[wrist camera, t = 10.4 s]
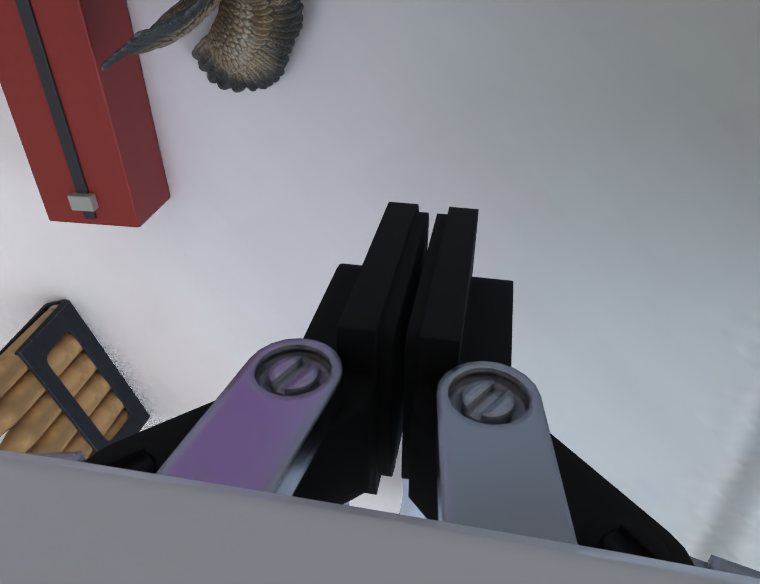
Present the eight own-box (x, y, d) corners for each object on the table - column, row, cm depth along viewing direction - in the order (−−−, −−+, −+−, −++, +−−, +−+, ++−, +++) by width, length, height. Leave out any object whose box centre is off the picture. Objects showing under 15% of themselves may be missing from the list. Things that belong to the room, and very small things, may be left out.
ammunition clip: (45, 303, 39) (-106, 444, 30) (67, 298, 39) (-80, 441, 29) (129, 419, 45) (25, 572, 35) (150, 417, 44) (49, 571, 34)
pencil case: (73, -236, 23) (2, -254, 20) (171, 197, 33) (134, 232, 30) (-44, -231, 24) (-131, -248, 20) (87, 192, 34) (43, 225, 31)
